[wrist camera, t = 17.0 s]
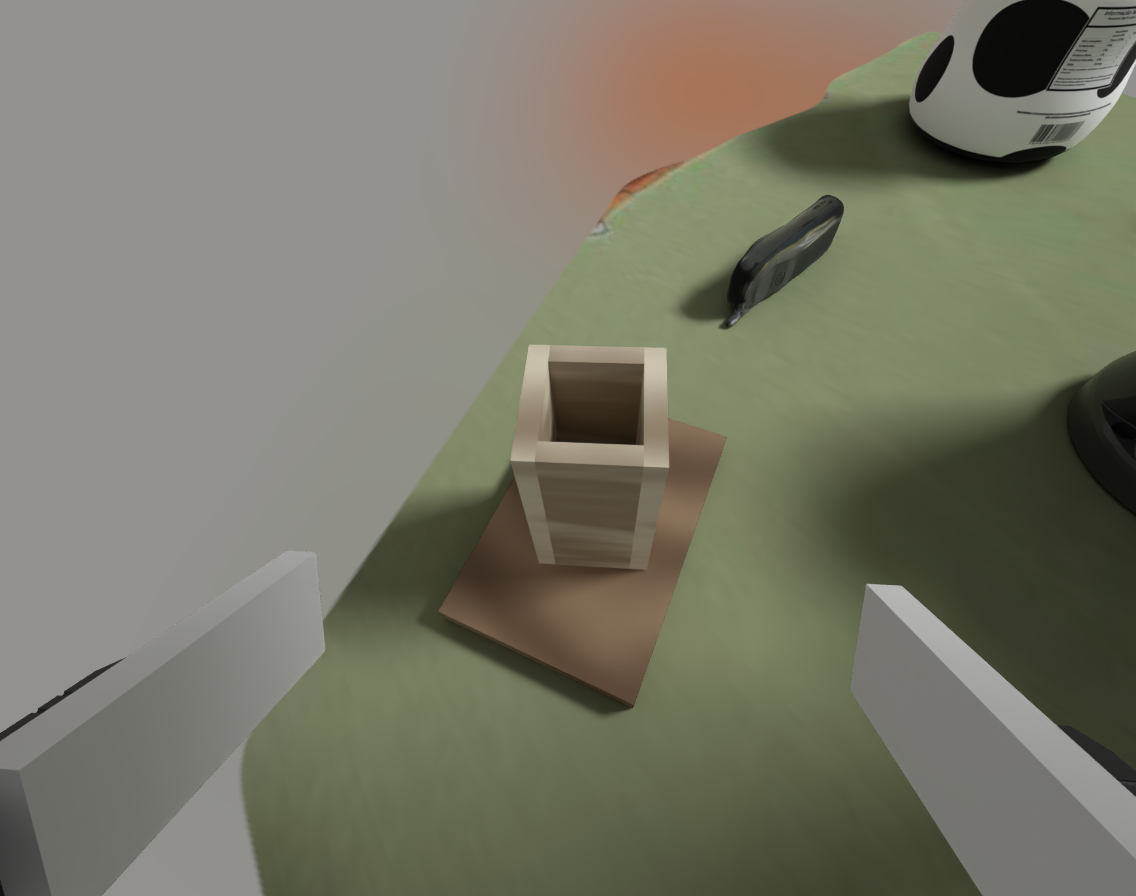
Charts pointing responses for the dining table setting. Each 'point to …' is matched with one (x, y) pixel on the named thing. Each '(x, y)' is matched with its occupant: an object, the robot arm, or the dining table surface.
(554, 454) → the wooden pencil cup
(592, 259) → the dining table surface
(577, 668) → the flat brown rectangular board
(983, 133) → the doce de leite jar
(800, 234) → the mobile phone
